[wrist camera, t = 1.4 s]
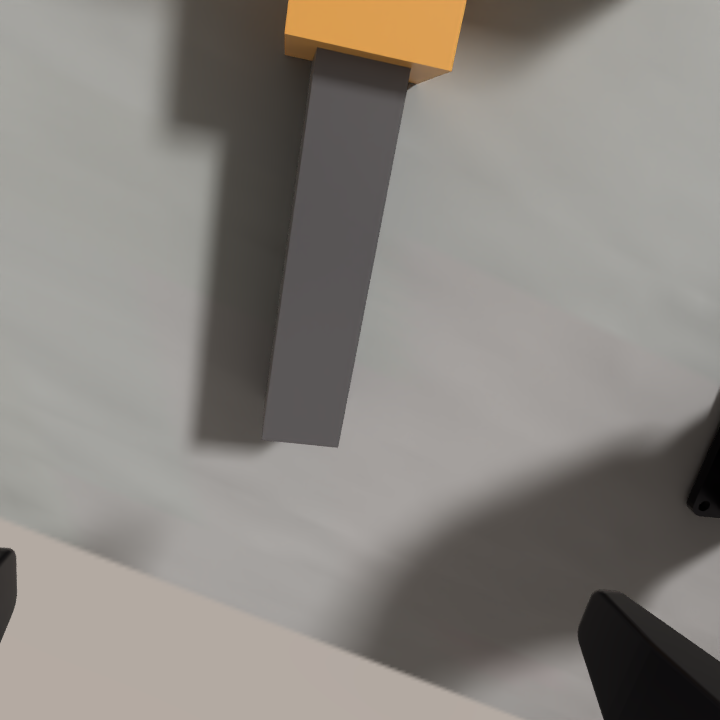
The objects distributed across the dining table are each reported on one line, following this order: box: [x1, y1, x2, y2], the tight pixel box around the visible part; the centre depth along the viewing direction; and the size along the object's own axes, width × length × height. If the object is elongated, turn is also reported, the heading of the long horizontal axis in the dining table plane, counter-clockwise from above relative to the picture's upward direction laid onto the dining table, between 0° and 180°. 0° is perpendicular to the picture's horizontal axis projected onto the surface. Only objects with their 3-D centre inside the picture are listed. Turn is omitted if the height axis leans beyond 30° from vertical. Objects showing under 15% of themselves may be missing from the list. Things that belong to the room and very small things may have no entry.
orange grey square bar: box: [262, 0, 467, 448], centre depth 17 cm, size 15×4×4 cm, turn 169°
